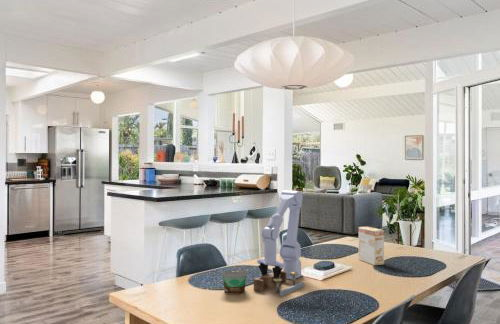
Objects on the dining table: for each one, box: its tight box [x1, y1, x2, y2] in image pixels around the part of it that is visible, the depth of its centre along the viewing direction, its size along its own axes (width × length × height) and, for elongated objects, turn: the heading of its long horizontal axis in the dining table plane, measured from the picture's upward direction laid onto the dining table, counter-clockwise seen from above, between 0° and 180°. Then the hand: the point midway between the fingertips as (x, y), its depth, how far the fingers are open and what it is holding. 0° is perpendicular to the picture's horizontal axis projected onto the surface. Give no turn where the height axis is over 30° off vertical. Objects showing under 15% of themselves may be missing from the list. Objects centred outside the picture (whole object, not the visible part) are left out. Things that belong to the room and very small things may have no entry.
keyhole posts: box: [273, 272, 298, 294], centre depth 199 cm, size 17×4×6 cm, turn 140°
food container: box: [220, 269, 248, 295], centre depth 195 cm, size 12×6×10 cm, turn 105°
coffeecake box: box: [357, 225, 385, 266], centre depth 248 cm, size 15×7×20 cm, turn 22°
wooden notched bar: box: [253, 270, 287, 293], centre depth 205 cm, size 19×5×5 cm, turn 140°
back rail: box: [279, 281, 305, 297], centre depth 197 cm, size 18×1×2 cm, turn 140°
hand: (270, 280), depth 205 cm, fingers open, 6 cm apart
